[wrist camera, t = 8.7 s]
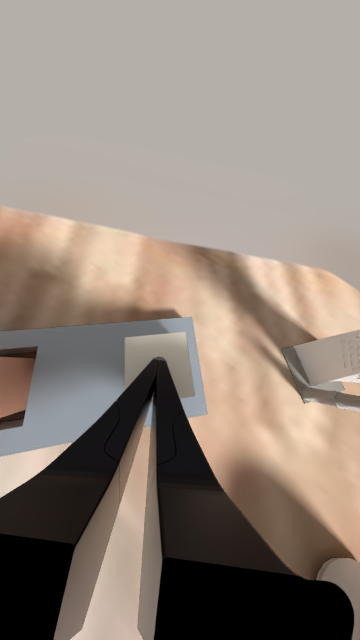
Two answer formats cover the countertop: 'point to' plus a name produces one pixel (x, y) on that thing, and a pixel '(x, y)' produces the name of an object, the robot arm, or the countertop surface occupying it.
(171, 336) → the cream block
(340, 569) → the can
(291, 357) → the skyscraper
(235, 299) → the countertop surface
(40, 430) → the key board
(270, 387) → the countertop surface
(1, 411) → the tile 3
